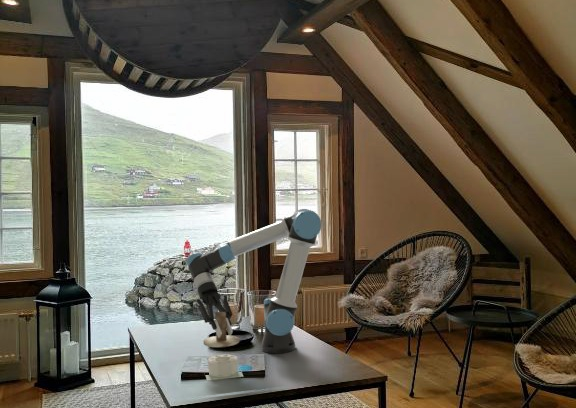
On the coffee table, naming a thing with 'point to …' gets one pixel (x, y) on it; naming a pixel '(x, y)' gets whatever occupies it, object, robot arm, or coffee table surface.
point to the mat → (238, 374)
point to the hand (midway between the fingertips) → (225, 334)
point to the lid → (224, 339)
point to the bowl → (222, 365)
